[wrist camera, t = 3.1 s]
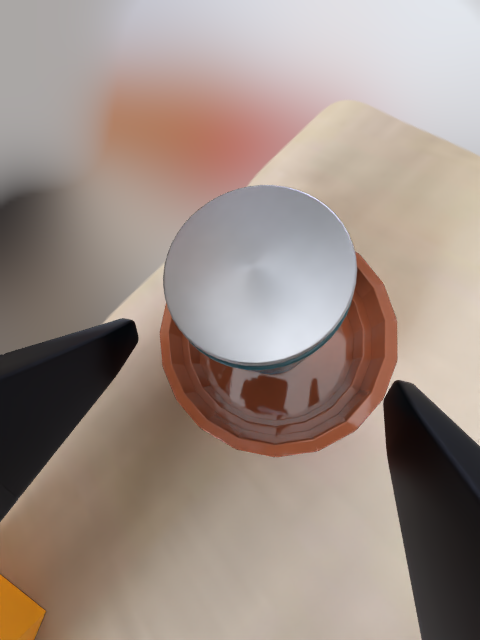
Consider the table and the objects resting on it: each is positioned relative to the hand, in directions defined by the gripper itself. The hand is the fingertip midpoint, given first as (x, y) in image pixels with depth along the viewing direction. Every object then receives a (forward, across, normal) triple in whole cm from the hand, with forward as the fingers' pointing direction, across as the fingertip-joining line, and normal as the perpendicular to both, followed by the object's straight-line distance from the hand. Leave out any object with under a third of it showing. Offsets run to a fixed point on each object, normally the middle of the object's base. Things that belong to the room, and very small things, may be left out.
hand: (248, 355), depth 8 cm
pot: (+8, 0, +5) cm, 10 cm away
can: (+8, 0, +5) cm, 9 cm away
